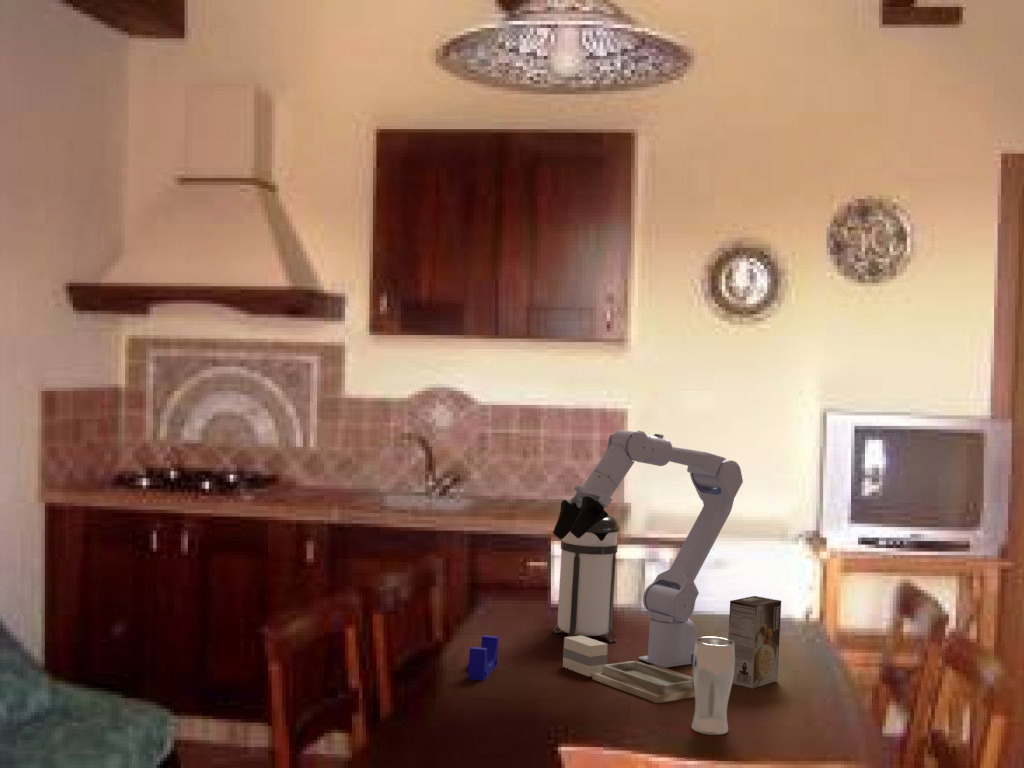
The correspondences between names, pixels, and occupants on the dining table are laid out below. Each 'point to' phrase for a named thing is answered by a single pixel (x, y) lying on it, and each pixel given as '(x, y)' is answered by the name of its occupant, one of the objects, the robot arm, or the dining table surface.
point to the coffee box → (755, 640)
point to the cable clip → (483, 658)
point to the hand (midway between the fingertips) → (565, 535)
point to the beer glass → (712, 683)
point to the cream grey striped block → (584, 655)
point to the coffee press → (588, 581)
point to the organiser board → (647, 681)
